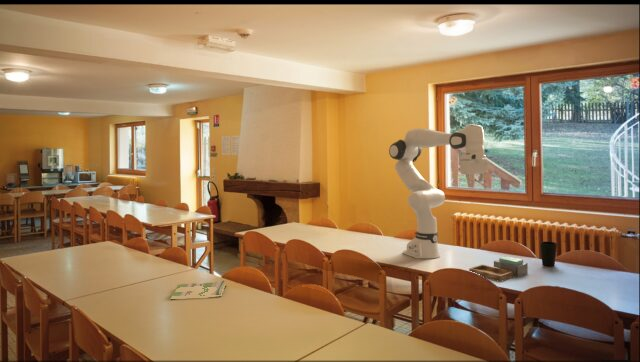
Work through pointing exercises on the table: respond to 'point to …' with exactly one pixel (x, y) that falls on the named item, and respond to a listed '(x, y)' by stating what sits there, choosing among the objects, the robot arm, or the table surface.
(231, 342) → the table surface
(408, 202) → the robot arm
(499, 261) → the green rectangular block
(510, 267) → the bay
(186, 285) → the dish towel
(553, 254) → the cup
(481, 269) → the tray
